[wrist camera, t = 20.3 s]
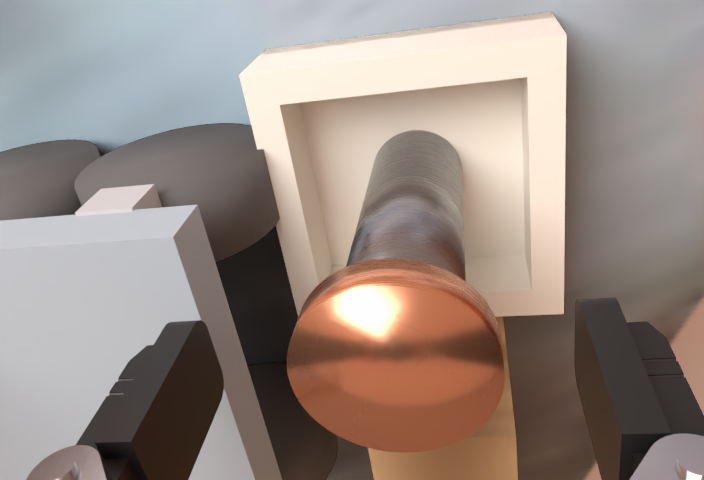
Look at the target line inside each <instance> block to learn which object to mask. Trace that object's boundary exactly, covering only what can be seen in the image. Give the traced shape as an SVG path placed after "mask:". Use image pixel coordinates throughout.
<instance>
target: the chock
mask: <svg viewBox="0 0 704 480" xmlns="http://www.w3.org/2000/svg"><path fill="white" fill-rule="evenodd" d="M496 320H497V322H498V325H499V329H500V333H501V341H502V351H503V361H504V372H505V382H504V390H503V394H502V397H501V400H500V402H499V404H498V406H497V408H496V410H495V412H494V413H493V414H492V416H491V417H490V419H489V420H488V421H487V422H486V423H485V424H484V425H483V426H482V427H481V428H479V429H478V430H477V431H476V432H474V433H473V434H471V435H470V436H468V437H466V438H465V439H463V440H461V441H459V442H456V443H454V444H452V445H449V446H446V447H443V448H440V449H435V450H430V451H424V452H414V453H398V452H387V451H381V450H375V449H371V448H368V452H369V457H370V462H371V467H372V472H373V477H374V480H518V469H517V445H516V431H515V421H514V412H513V403H512V394H511V384H510V375H509V366H508V357H507V348H506V338H505V329H504V320H503V316H501V317H496Z"/></svg>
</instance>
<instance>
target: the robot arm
mask: <svg viewBox="0 0 704 480" xmlns="http://www.w3.org/2000/svg"><path fill="white" fill-rule="evenodd" d="M575 373H576V381H577V386H578V391H579V395H580V399H581V402H582V406H583V410H584V414H585V418H586V421H587V425H588V429H589V433H590V437H591V440H592V444H593V448H594V452H595V456H596V459H597V463H598V467H599V471H600V475H601V478H602V480H704V415H703V413H702V411H701V409H700V407H699V405H698V403H697V401H696V399H695V396H694V394H693V392H692V390H691V388H690V386H689V384H688V382H687V380H686V378H684V375H683V372H682V369H681V367H680V365H679V363H678V362H677V361H676V357H675V355H674V353H673V351H672V349H671V346H670V344H669V342H668V340H667V338H666V337H665V336H663V335H662V334H661V333H660V332H659V331H657V330H656V329H655V328H654V327H653V326H652V325H650V324H649V323H648V322H629V323H626V320H625V318H624V315H623V313H622V310H621V308H620V305H619V303H618V301H617V299H616V298H603V299H585V300H577V301H576V306H575ZM223 390H224V379H223V373H222V369H221V366H220V363H219V360H218V358H217V355H216V352H215V349H214V346H213V343H212V340H211V337H210V334H209V331H208V328H207V326H206V324H205V323H204V322H203V321H201V320H196V321H179V322H169V323H167V324H166V325H165V327H164V328H163V330H162V332H161V333H160V335H159V337H158V338H157V340H156V342H155V343H154V345H147V346H146V347H145V348H143V349H142V350H141V351H140V352H139V353H138V354H137V355H135V356H134V357H133V358H132V359H131V360H130V361H129V362H128V363H127V365H126V366H125V368H124V370H123V371H122V373H121V374H120V376H119V377H118V382H115V384H114V385H113V387H112V388H111V390H110V392H109V396H106V398H105V400H104V401H103V403H102V404H101V406H100V407H99V409H98V411H97V412H96V414H95V415H94V417H93V418H92V420H91V422H90V423H89V425H88V426H87V428H86V429H85V431H84V433H83V434H82V436H81V437H80V439H79V440H78V442H77V444H76V445H74V446H69V447H66V448H63V449H61V450H58V451H56V452H54V453H53V454H51V455H49V456H48V457H46V458H45V459H44V460H42V461H41V462H40V463H39V464H38V465H37V466H36V467H35V468H34V469H33V470H32V471H31V472H30V474H29V475H28V477H27V479H26V480H188V479H189V477H190V475H191V472H192V470H193V467H194V465H195V463H196V460H197V458H198V455H199V453H200V450H201V448H202V446H203V443H204V441H205V438H206V436H207V434H208V431H209V429H210V426H211V424H212V422H213V419H214V417H215V414H216V412H217V410H218V407H219V405H220V402H221V400H222V396H223Z"/></svg>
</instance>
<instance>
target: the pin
mask: <svg viewBox="0 0 704 480" xmlns="http://www.w3.org/2000/svg"><path fill="white" fill-rule="evenodd" d="M287 373H288V378H289V381H290V385H291V387H292V389H293V392H294V394H295V396H296V397H297V399H298V400H299V402H300V404H301V405H302V406H303V408H304V409H305V410H306V411H307V412H308V414H309V415H310V416H312V417H313V418H314V419H315V420H316V421H317V422H318V423H319V424H321V425H322V426H323V427H325V428H326V429H327V430H329V431H331V432H332V433H334V434H335V435H337V436H339V437H341V438H343V439H345V440H347V441H349V442H352V443H355V444H358V445H360V446H363V447H367V448H371V449H375V450H381V451H387V452H398V453H414V452H424V451H430V450H435V449H440V448H443V447H446V446H449V445H452V444H454V443H456V442H459V441H461V440H463V439H465V438H466V437H468V436H470V435H471V434H473V433H474V432H476V431H477V430H478V429H479V428H481V427H482V426H483V425H484V424H485V423H486V422H487V421H488V420H489V419H490V417H491V416H492V414H493V413H494V412H495V410H496V408H497V406H498V404H499V402H500V400H501V397H502V394H503V390H504V382H505V372H504V361H503V351H502V341H501V333H500V329H499V325H498V322H497V320H496V317H495V315H494V313H493V311H492V310H491V308H490V306H489V305H488V303H487V302H486V301H485V300H484V298H483V297H482V296H481V295H480V294H479V293H478V292H477V291H476V290H475V289H474V288H473V287H472V286H471V285H470V284H468V283H467V282H466V273H465V240H464V206H463V173H462V163H461V160H460V157H459V155H458V153H457V151H456V150H455V148H454V147H453V146H452V145H451V144H450V143H449V142H448V141H447V140H446V139H444V138H443V137H441V136H439V135H437V134H435V133H432V132H428V131H423V130H412V131H406V132H402V133H400V134H397V135H395V136H394V137H392V138H390V139H389V140H388V141H387V142H386V143H384V144H383V146H382V147H381V148H380V150H379V151H378V153H377V155H376V157H375V160H374V164H373V168H372V172H371V175H370V179H369V183H368V187H367V190H366V194H365V198H364V201H363V205H362V209H361V213H360V216H359V220H358V224H357V227H356V231H355V235H354V239H353V242H352V246H351V250H350V254H349V257H348V261H347V265H346V267H345V268H343V269H341V270H338V271H336V272H335V273H333V274H332V275H330V276H328V277H327V278H325V279H324V280H323V281H322V282H321V283H320V284H318V285H317V286H316V287H315V289H314V290H313V291H312V292H311V293H310V294H309V296H308V298H307V299H306V301H305V302H304V304H303V307H302V309H301V312H300V314H299V317H298V320H297V323H296V326H295V329H294V331H293V334H292V337H291V340H290V343H289V347H288V352H287Z"/></svg>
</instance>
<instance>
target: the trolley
mask: <svg viewBox="0 0 704 480" xmlns="http://www.w3.org/2000/svg"><path fill="white" fill-rule="evenodd" d="M279 219H280V216H279V212H278V208H277V204H276V199H275V195H274V191H273V187H272V183H271V178H270V174H269V170H268V166H267V162H266V158H265V153H264V149H258V150H257V147H256V143H255V138H254V134H253V130H252V126H249V125H243V124H234V123H218V124H205V125H197V126H190V127H184V128H180V129H175V130H170V131H166V132H162V133H159V134H155V135H152V136H148V137H145V138H142V139H139V140H137V141H134V142H131V143H129V144H126V145H124V146H121V147H119V148H117V149H115V150H113V151H111V152H109V153H107V154H105V155H103V156H100V154H99V151H98V148H97V146H96V145H95V144H93V143H91V142H88V141H83V140H57V141H49V142H42V143H36V144H31V145H26V146H22V147H18V148H13V149H10V150H6V151H2V152H0V480H26V479H27V477H28V475H29V474H30V472H31V471H32V470H33V469H34V468H35V467H36V466H37V465H38V464H39V463H40V462H41V461H42V460H44V459H45V458H46V457H48V456H49V455H51V454H53V453H54V452H56V451H58V450H61V449H63V448H66V447H69V446H74V445H76V444H77V442H78V440H79V439H80V437H81V436H82V434H83V433H84V431H85V429H86V428H87V426H88V425H89V423H90V422H91V420H92V418H93V417H94V415H95V414H96V412H97V411H98V409H99V407H100V406H101V404H102V403H103V401H104V400H105V398H106V396H109V392H110V390H111V388H112V387H113V385H114V384H115V382H118V377H119V376H120V374H121V373H122V371H123V370H124V368H125V366H126V365H127V363H128V362H129V361H130V360H131V359H132V358H133V357H134V356H135V355H137V354H138V353H139V352H140V351H141V350H142V349H143V348H145V347H146V346H147V345H154V343H155V342H156V340H157V338H158V337H159V335H160V333H161V332H162V330H163V328H164V327H165V325H166V324H167V323H169V322H179V321H196V320H201V321H203V322H204V323H205V324H206V326H207V328H208V331H209V334H210V337H211V340H212V343H213V346H214V349H215V352H216V355H217V358H218V360H219V363H220V366H221V369H222V373H223V379H224V390H223V396H222V400H221V402H220V405H219V407H218V410H217V412H216V414H215V417H214V419H213V422H212V424H211V426H210V429H209V431H208V434H207V436H206V438H205V441H204V443H203V446H202V448H201V450H200V453H199V455H198V458H197V460H196V463H195V465H194V467H193V470H192V472H191V475H190V477H189V479H188V480H326V478H327V477H328V475H329V474H330V472H331V470H332V468H333V465H334V463H335V460H336V456H337V449H338V445H337V437H336V435H335V434H334V433H332V432H331V431H329V430H327V429H326V428H325V427H323V426H322V425H321V424H319V423H318V422H317V421H316V420H315V419H314V418H313V417H312V416H310V415H309V414H308V412H307V411H306V410H305V409H304V408H303V406H302V405H301V404H300V402H299V400H298V399H297V397H296V396H295V394H294V392H293V389H292V387H291V385H290V381H289V378H288V373H287V364H286V363H262V364H256V365H251V366H247V363H246V360H245V357H244V354H243V350H242V347H241V344H240V341H239V337H238V334H237V331H236V328H235V324H234V321H233V318H232V315H231V311H230V308H229V305H228V302H227V298H226V295H225V292H224V289H223V285H222V282H221V279H220V276H219V272H218V269H217V266H216V263H215V262H217V261H220V260H223V259H225V258H228V257H230V256H232V255H234V254H236V253H238V252H240V251H242V250H244V249H246V248H248V247H249V246H251V245H253V244H254V243H256V242H257V241H259V240H260V239H261V238H263V237H264V236H265V235H266V234H267V233H269V232H270V231H271V230H272V229H273V227H274V226H275V225H276V224H277V222H278V221H279Z"/></svg>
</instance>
